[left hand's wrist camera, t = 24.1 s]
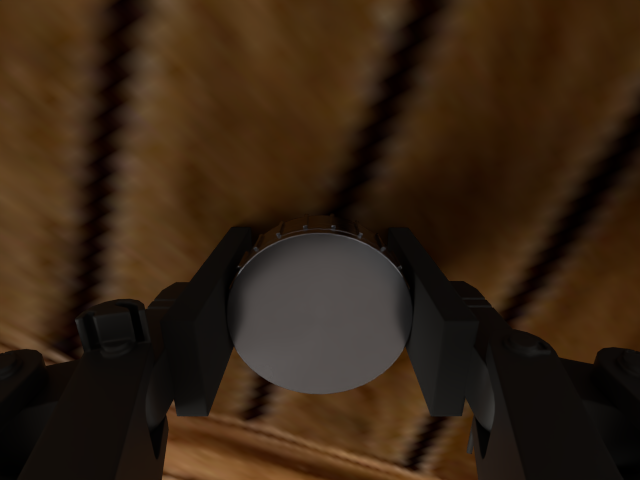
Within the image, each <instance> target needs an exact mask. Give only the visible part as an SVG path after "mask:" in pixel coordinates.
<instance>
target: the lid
mask: <svg viewBox="0 0 640 480" xmlns="http://www.w3.org/2000/svg"><path fill="white" fill-rule="evenodd" d="M237 269H238V270H239V271H237V273H236V275H235V277H234V279H233V281H232V283H231V285H230V287H229V289H228V291H229V294H228V298H227V304H226V322H227V328H228V332H229V335H230V338H231V341H232V343H233V345H234V347H235V349H236V351H237V352H238V354H239V355H240V356H241V358H242V359H243V361H244V362H245V363H246V364H247V365H248V366H249V367H250V368H251V369H252V370H254V371H255V372H256V373H257V374H258V375H260V376H261V377H263V378H264V379H266V380H268V381H269V382H271V383H273V384H275V385H277V386H280V387H283V388H285V389H288V390H292V391H296V392H301V393H308V394H331V393H338V392H343V391H347V390H351V389H354V388H357V387H359V386H362V385H364V384H366V383H368V382H370V381H372V380H373V379H375V378H376V377H378V376H379V375H381V374H382V373H383V372H385V371H386V370H387V369H388V368H389V367H390V366H391V365H392V364H393V363H394V362H395V361H396V359H397V358H398V357H399V355H400V354H401V352H402V351H403V349H404V347H405V345H406V343H407V341H408V339H409V336H410V332H411V329H412V323H413V303H412V297H411V294H410V291H411V288H410V286H409V284H408V282H407V280H406V278H405V276H404V274H403V272H402V271H400V270H401V269H402V267H401V265H400V263H399V261H398V259H397V257H396V255H395V253H394V252H393V251H391V252H390V250H389V249H388V248H387V246H386V245H385V244H384V243H383V242H382V240H381V237H380V235H379V234H378V233H377V234H376V235H375V234H374V233H372V232H371V231H370V230H368V229H366V228H365V227H363V226H361V225H360V224H359V221H355V222H353V221H350V220H346V219H343V218H339V217H334V214H331V215H330V216H322V215H315V216H308V214H305V216H304V217H300V218H296V219H293V220H290V221H287V222H284V221H281V222H280V224H279V225H278V226H276V227H274V228H273V229H271V230H270V231H268V232H267V233H265V234H264V235H263V234H260V236H259V238H258V240H257V242H256V243H255V244H254V245H253V247H252V248H251V249H250V251H249V252H247V251H246V252H245V254H244V256H243V258H242V259H241V261H240V263H239V265H238V267H237Z"/></svg>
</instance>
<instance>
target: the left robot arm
mask: <svg viewBox="0 0 640 480" xmlns="http://www.w3.org/2000/svg"><path fill="white" fill-rule="evenodd" d="M251 248H252V240H251V227H231V228H230V230H229V231H228V232H227V234H226V235H225V236H224V238H223V239H222V240H221V242H220V243H219V244H218V245H217V247H216V248H215V249H214V251H213V252H212V253H211V255H210V256H209V257H208V259H207V260H206V261H205V262H204V264H203V265H202V266H201V268H200V269H199V270H198V272H197V273H196V274H195V276H194V277H193V278H192V279H191V281H190V282H176V283H174V284H172V285H170V286H169V287H167V288H165V289H164V290H162V291H161V292H160V294H159V295H158V296H157V297H156V298H155V299H154V301H153V302H152V303H151V304H150V305H149V306H148V309H145V307H144V304H143V303H141V302H140V301H139V300H133V299H117V300H112V301H107V302H104V303H101V304H98V305H95V306H93V307H91V308H89V309H87V310H86V311H84V312H82V313H81V314H80V315H79V316H78V317H77V318H76V319H75V321H76V325H77V328H78V332H79V335H80V339H81V342H82V346H83V349H84V354H83V356H82V358H81V359H79V360H74V361H69V362H64V363H59V364H54V365H49V366H46V365H45V362H44V359H43V357H42V354H41V353H39V352H38V351H37V350H30V349H23V350H15V351H8V352H5V353H1V354H0V480H162V474H163V466H164V459H165V452H166V444H167V437H168V430H169V429H168V421H167V416H166V413H167V411H168V409H169V407H170V405H171V403H172V401H173V399H174V402H175V407H176V412H177V416H208V415H209V412H210V409H211V407H212V404H213V401H214V399H215V396H216V393H217V390H218V388H219V385H220V382H221V380H222V377H223V374H224V371H225V369H226V366H227V363H228V361H229V358H230V355H231V353H232V350H233V347H234V345H233V343H232V341H231V338H230V335H229V332H228V328H227V322H226V304H227V298H228V294H229V291H228V289H229V287H230V285H231V283H232V281H233V279H234V277H235V275H236V273H237V271H239V270H238V269H237V267H238V265H239V263H240V261H241V259H242V258H243V256H244V254H245V252H246V251H247V252H249V251H250V249H251ZM387 248H388V249H389V250H390V252H391V251H393V252H394V253H395V255H396V257H397V259H398V261H399V263H400V265H401V267H402V269H401V270H400V271H402V272H403V274H404V276H405V278H406V280H407V282H408V284H409V286H410V288H411V291H410V294H411V297H412V303H413V323H412V329H411V332H410V336H409V339H408V341H407V343H406V345H405V347H406V349H407V352H408V355H409V357H410V360H411V363H412V366H413V368H414V371H415V374H416V377H417V379H418V382H419V385H420V387H421V390H422V393H423V396H424V398H425V401H426V404H427V406H428V409H429V412H430V415H431V416H462V413H463V407H464V402H465V397H466V399H467V401H468V403H469V405H470V407H471V409H472V411H473V413H474V416H473V421H472V426H471V431H470V436H469V441H468V447H467V453H470V454H472V450H473V446H474V451H475V458H476V465H477V473H478V480H640V352H638V351H634V350H631V349H623V348H616V347H611V348H603V349H601V350H600V351H599V352H598V353H597V356H596V359H595V361H594V364H589V363H584V362H579V361H574V360H569V359H563V358H559V357H558V355H557V353H556V351H555V350H554V349H553V348H552V347H551V346H550V344H548V343H547V342H545V341H544V340H542V339H541V338H539V337H537V336H535V335H532V334H530V333H528V332H524V331H519V330H515V329H512V328H511V327H510V326H509V325H508V324H507V322H506V321H505V320H504V319H503V318H502V317H501V316H500V315H499V313H498V312H497V311H496V310H495V309H494V308H492V306H491V304H490V303H489V302H488V301H487V300H485V298H484V296H483V295H482V294H481V293H480V292H479V291H478V290H477V289H476V288H474V287H473V286H471V285H469V284H467V283H466V282H464V281H448V279H447V278H446V277H445V275H444V274H443V273H442V271H441V270H440V269H439V268H438V266H437V265H436V264H435V262H434V261H433V260H432V258H431V257H430V256H429V254H428V253H427V252H426V250H425V249H424V248H423V247H422V245H421V244H420V243H419V241H418V240H417V239H416V237H415V236H414V235H413V233H412V232H411V231H410V230H409V228H389V232H388V246H387Z"/></svg>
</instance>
